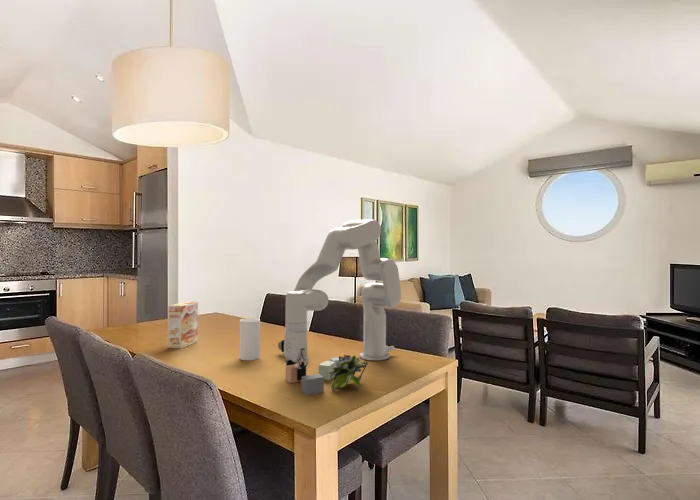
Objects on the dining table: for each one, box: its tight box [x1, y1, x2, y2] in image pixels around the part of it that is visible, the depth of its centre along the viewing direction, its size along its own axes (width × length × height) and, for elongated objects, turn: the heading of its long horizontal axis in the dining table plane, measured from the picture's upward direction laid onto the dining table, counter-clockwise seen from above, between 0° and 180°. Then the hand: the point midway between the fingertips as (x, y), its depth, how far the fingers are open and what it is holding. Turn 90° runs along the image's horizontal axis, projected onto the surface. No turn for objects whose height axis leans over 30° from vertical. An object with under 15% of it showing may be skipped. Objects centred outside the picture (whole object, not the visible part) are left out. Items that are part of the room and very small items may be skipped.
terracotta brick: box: [285, 362, 302, 384], centre depth 149 cm, size 6×4×5 cm, turn 124°
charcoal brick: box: [300, 373, 325, 396], centre depth 137 cm, size 6×4×5 cm, turn 124°
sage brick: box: [318, 360, 336, 381], centre depth 153 cm, size 6×4×5 cm, turn 159°
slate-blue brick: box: [330, 356, 342, 364], centre depth 159 cm, size 6×4×5 cm, turn 104°
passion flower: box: [329, 354, 368, 391], centre depth 142 cm, size 13×12×14 cm
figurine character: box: [277, 339, 301, 359], centre depth 181 cm, size 7×8×15 cm
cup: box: [239, 317, 261, 361], centre depth 178 cm, size 8×8×16 cm
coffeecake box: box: [167, 301, 199, 349], centre depth 201 cm, size 15×7×20 cm, turn 171°
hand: (295, 376), depth 149 cm, fingers open, 7 cm apart
